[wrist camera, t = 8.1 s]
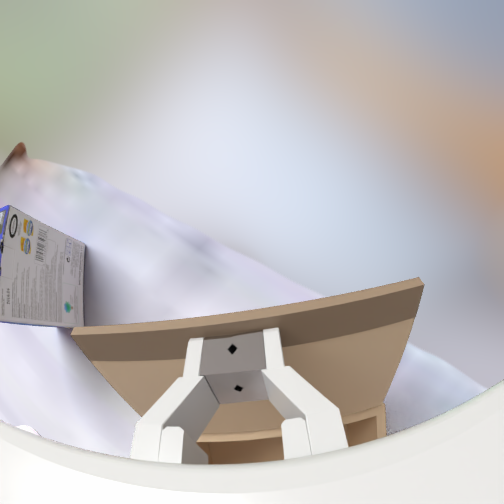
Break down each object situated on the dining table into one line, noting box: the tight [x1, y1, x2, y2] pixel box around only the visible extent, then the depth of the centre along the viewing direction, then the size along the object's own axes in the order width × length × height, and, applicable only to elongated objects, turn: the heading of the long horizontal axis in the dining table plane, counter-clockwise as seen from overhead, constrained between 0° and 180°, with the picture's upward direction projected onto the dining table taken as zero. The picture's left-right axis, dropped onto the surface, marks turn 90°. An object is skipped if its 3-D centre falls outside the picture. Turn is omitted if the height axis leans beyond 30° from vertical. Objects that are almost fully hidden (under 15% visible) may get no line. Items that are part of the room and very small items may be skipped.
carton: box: [196, 403, 386, 464], centre depth 16 cm, size 17×14×9 cm
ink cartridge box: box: [0, 205, 85, 328], centre depth 20 cm, size 10×6×14 cm, turn 5°
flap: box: [70, 277, 424, 433], centre depth 11 cm, size 9×13×1 cm
